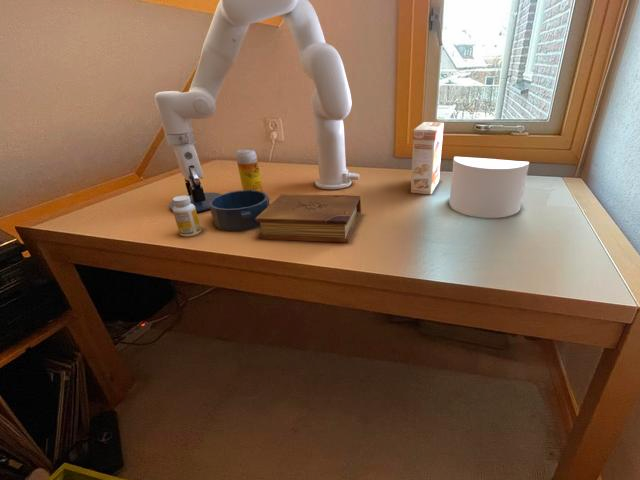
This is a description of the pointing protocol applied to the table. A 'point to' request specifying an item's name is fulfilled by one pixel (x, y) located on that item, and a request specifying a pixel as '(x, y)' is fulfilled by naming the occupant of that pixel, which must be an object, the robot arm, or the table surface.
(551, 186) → the table surface
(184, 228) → the supplement bottle
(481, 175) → the container
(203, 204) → the pan lid
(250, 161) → the beer can
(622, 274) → the table surface
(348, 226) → the diary
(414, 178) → the coffeecake box
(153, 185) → the table surface
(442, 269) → the table surface
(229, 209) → the pan
